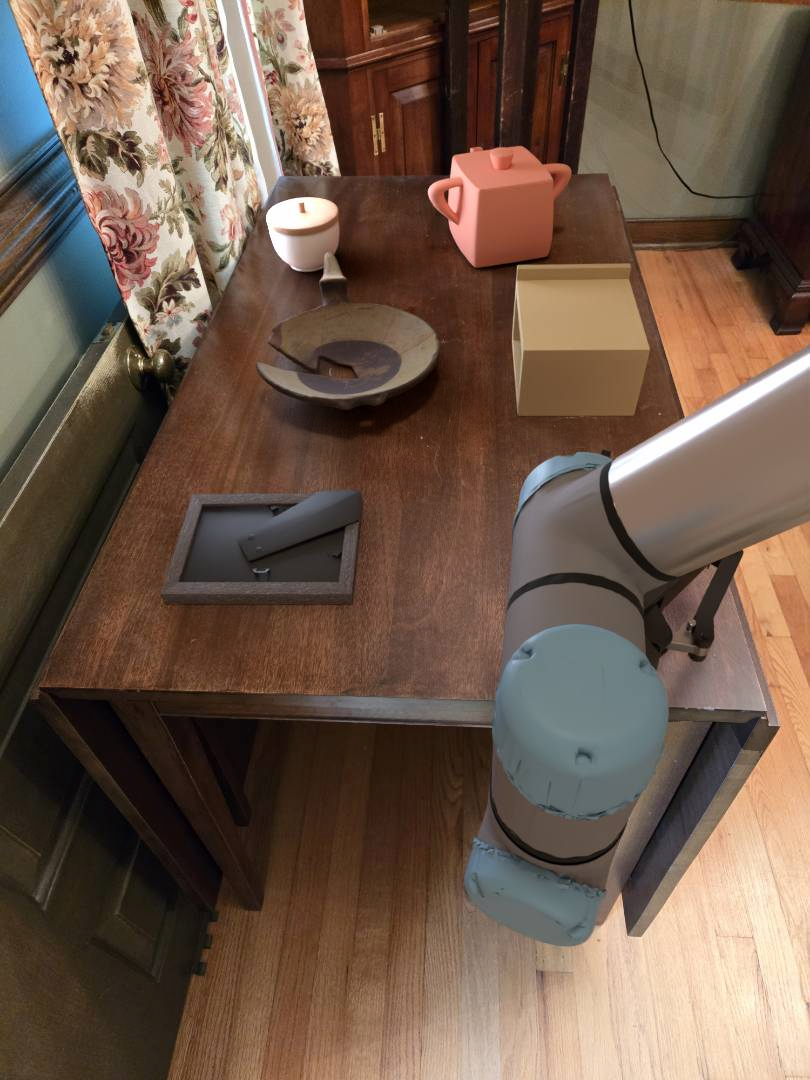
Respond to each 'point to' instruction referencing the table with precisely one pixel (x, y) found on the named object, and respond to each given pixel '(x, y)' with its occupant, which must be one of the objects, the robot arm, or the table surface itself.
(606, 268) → the tan cardboard box
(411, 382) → the grey frying pan
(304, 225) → the white lidded sugar bowl
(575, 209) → the table surface
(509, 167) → the pink ceramic boxy vessel
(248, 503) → the picture frame
